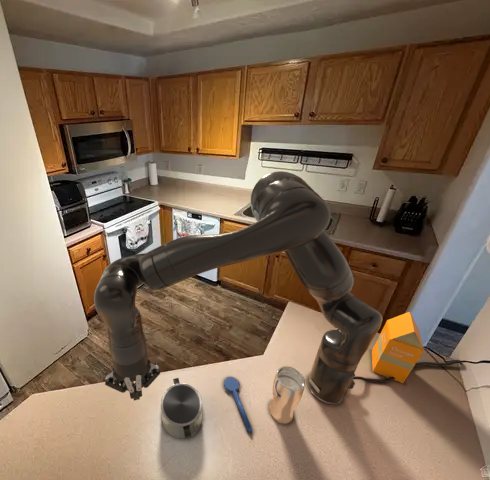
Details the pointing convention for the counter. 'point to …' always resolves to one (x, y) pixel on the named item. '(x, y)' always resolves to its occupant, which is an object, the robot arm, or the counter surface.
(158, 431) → the counter surface
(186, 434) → the steel pot
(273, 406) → the beer glass
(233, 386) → the blue spoon
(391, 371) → the orange juice
